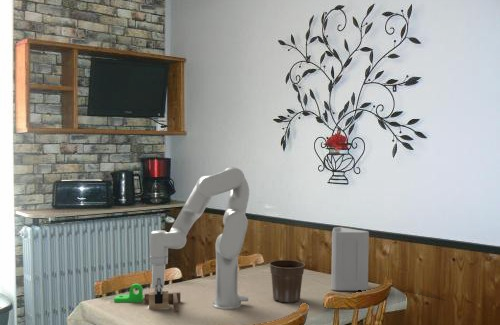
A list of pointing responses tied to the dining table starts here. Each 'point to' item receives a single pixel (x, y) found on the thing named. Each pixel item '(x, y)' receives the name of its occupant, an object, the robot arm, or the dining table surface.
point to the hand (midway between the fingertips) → (158, 300)
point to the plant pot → (286, 280)
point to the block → (152, 300)
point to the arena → (172, 298)
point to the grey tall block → (349, 259)
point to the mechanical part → (131, 295)
